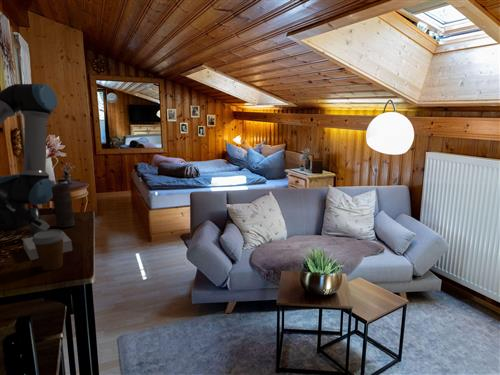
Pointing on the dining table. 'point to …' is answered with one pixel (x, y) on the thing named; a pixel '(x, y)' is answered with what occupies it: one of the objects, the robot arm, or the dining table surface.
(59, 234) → the disposable coffee cup
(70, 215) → the candle
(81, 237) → the dining table surface
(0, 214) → the robot arm
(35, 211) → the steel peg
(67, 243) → the hole block
